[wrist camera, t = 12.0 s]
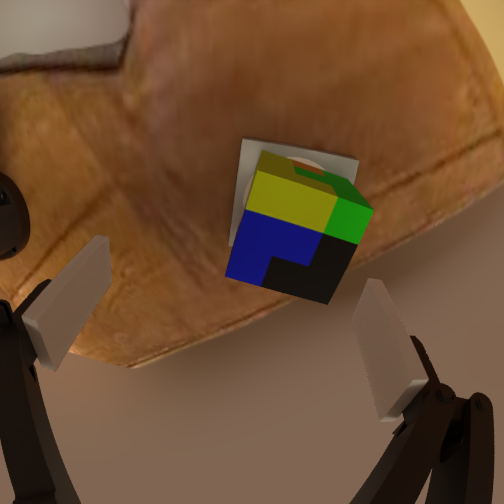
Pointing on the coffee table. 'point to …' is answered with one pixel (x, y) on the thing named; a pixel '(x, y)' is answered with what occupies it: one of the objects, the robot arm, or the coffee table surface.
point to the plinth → (309, 156)
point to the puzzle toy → (297, 229)
